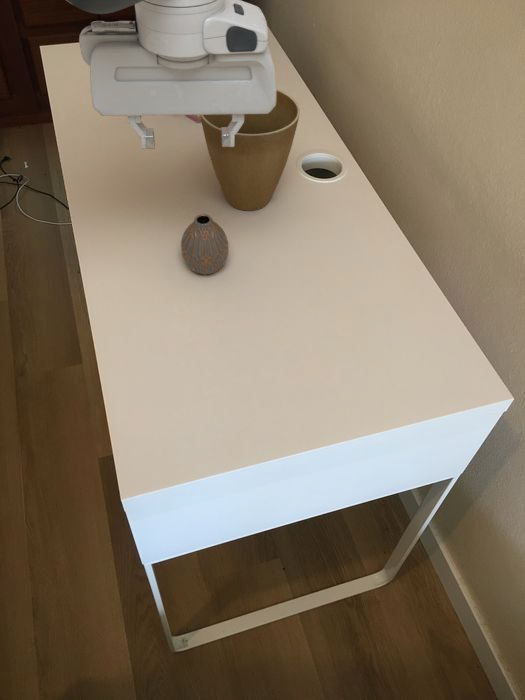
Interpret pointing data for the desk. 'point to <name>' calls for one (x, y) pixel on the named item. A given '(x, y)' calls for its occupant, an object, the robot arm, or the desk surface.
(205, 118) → the plant pot
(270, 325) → the desk surface
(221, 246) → the vase
